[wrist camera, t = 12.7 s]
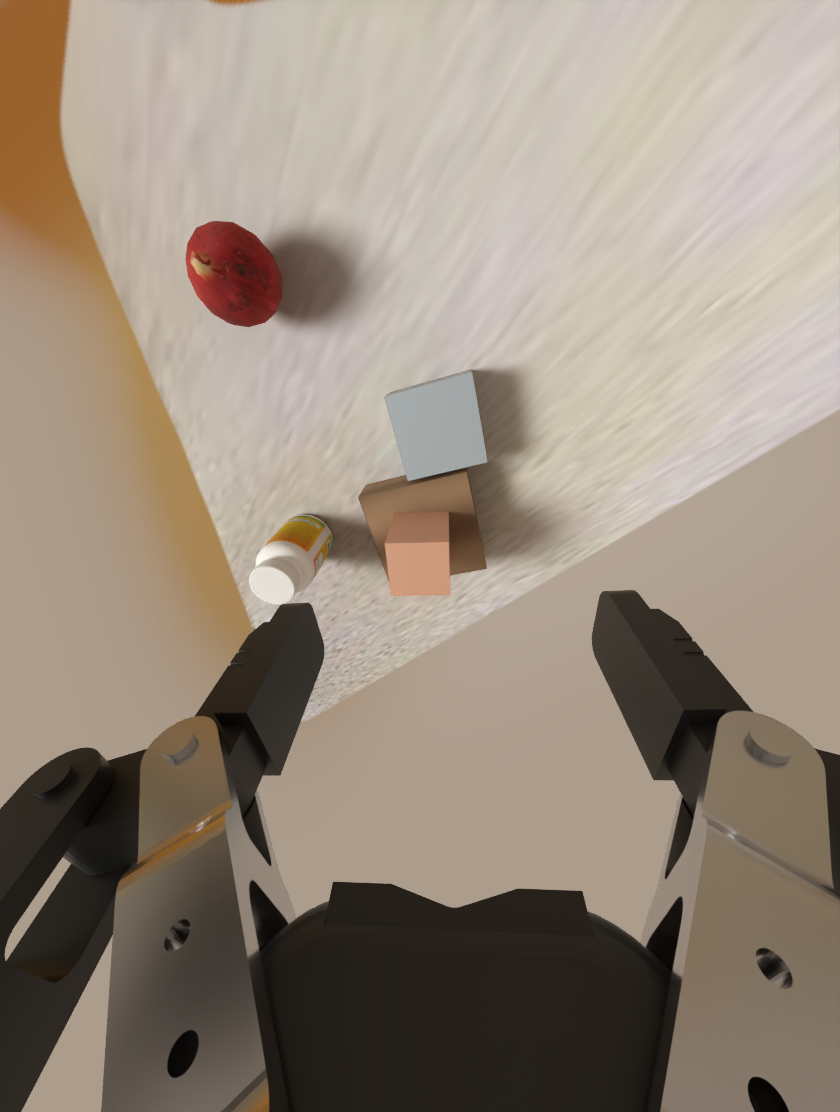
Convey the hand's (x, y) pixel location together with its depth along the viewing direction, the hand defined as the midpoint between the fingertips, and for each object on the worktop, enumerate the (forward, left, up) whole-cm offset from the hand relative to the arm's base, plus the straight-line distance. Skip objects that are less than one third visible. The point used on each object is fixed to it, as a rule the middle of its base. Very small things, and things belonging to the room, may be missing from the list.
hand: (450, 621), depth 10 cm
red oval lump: (-13, -14, -27) cm, 33 cm away
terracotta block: (+8, -3, -23) cm, 24 cm away
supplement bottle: (+9, -16, -27) cm, 32 cm away
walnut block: (+8, -3, -27) cm, 28 cm away
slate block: (-1, -1, -27) cm, 27 cm away
